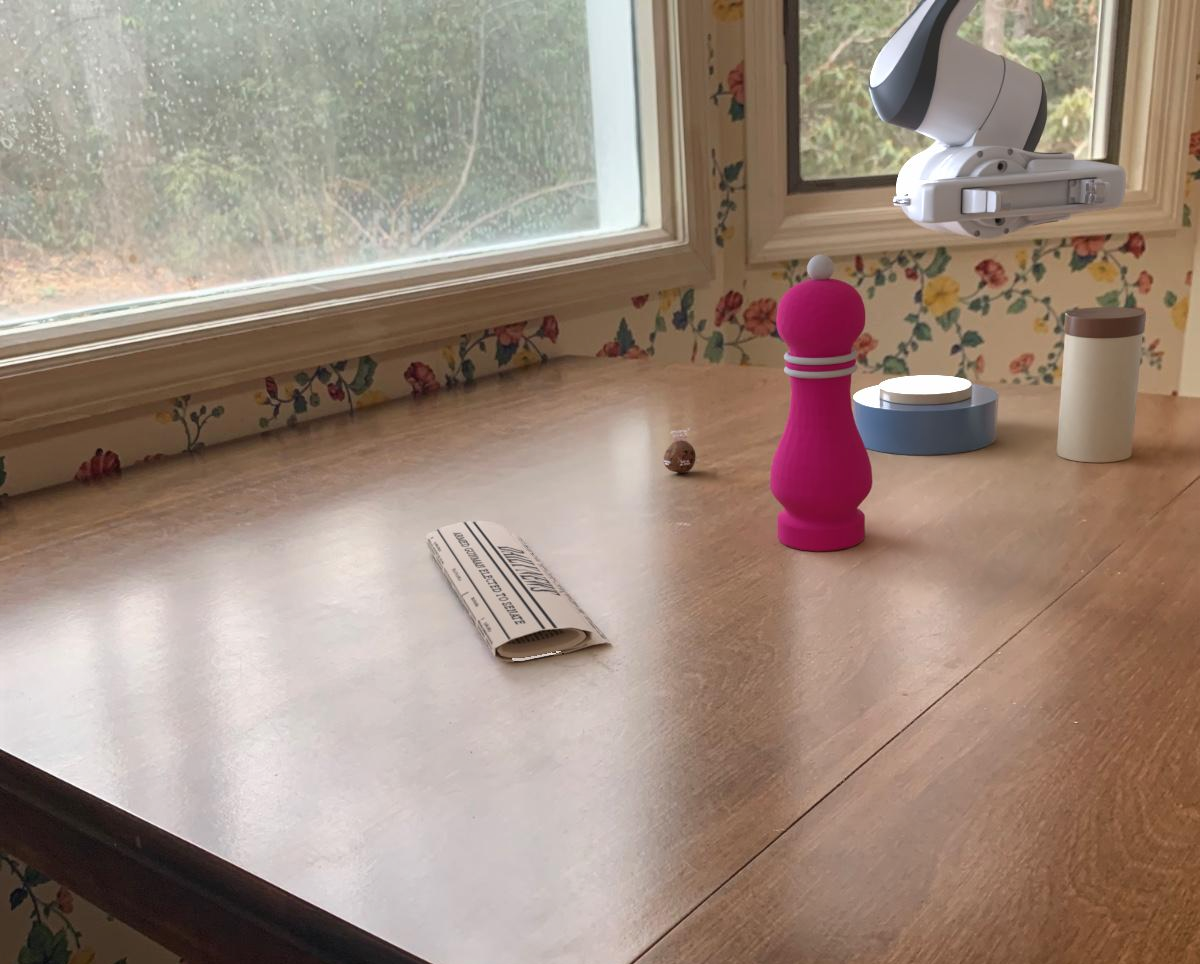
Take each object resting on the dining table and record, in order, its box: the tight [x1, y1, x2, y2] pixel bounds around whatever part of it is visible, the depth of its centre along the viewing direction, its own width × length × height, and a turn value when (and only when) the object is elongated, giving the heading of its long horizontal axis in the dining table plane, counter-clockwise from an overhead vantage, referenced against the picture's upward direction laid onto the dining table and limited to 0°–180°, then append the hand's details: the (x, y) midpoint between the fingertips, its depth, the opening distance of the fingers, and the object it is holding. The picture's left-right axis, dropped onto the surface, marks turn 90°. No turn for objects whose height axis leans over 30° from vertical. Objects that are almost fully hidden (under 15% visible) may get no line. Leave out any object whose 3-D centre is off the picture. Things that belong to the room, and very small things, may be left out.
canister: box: [1056, 306, 1147, 464], centre depth 102 cm, size 6×6×12 cm
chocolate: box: [662, 427, 699, 474], centre depth 106 cm, size 3×2×4 cm
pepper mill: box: [769, 254, 873, 552], centre depth 85 cm, size 7×7×20 cm
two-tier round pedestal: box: [852, 375, 1000, 456], centre depth 112 cm, size 13×13×5 cm
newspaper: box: [424, 520, 611, 663], centre depth 82 cm, size 24×7×2 cm, turn 18°
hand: (1053, 197), depth 109 cm, fingers open, 8 cm apart
